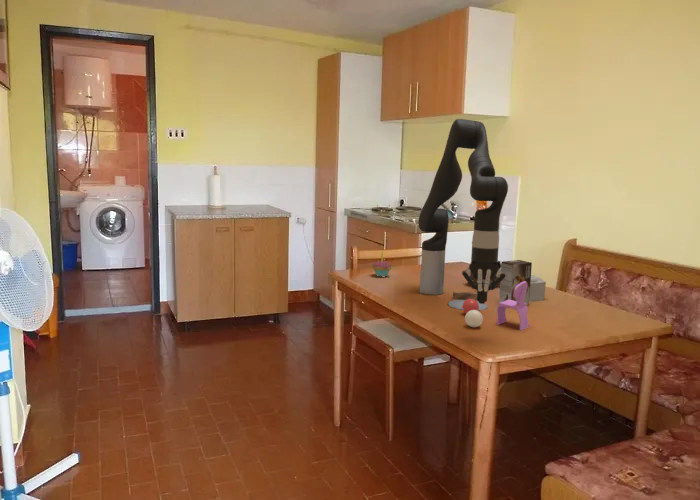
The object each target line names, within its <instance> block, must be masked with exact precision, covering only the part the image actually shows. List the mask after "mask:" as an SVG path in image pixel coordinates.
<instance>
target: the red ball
mask: <svg viewBox="0 0 700 500" xmlns="http://www.w3.org/2000/svg"><path fill="white" fill-rule="evenodd" d="M462 308H463V310H462V311H463V312H464V313H465V315H466V314H467V312H468V311H470V310H477V311H478V309H479V305H478V303H477V300H474V299H467V300H465V301H464V303H463V306H462Z"/></svg>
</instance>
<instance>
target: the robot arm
mask: <svg viewBox="0 0 700 500" xmlns="http://www.w3.org/2000/svg"><path fill="white" fill-rule="evenodd" d="M459 148H461V149H466V150H467V149H468V150H473V151H472V152H471V154H470V155H469V157H468V160H467V168H468V170H469V174H470V176H471V180H470V187H469V195H470V196H471V198H472V199H473V200H475V201H477V202H491V204H490V205H489V206H488V207H486V208H481V209H477V210H476V211H475V213H474V222H473V233H472V240H471V254H470V255H471V257H470V258H471V259H470V264H469V265H468V268H467V269H466V270H462V271H461V274H462V276H463V278H464V279H465V281H467V283H468V285H469V287H471V288H472V290H476V293H477V300H476V301H478V302H479V304H486V303H487V301H488V292H489V291H494V290H495V288H496V287H498V286H499V285H500V282H501V281H502V280H503V279H504V278H505V274H504V273H503V272H501V271H500V270H499V267H498V264H497V262H498V261H499V260H498V259H499V245H500V235H499V231H500V230H499V229H500V217H501V214H502V209H503V206H504V203H505V202H506V201H505V200H506V198H507V194H508V191H509V184H508V182H507V180H506V178H504V177H502V176H496V170H495V167H494V164H493V162H492V159H491V157H490V151H489V142H488V135H487V129H486V126H485V124H484V123H483V122H482V121H479V120H472V119H465V118H458V119H457V118H456V119H455V120H453V122H452V124H451V126H450V130H449V132H448V137H447V141H446V144H445V149H444V151H443V154H442V158H441V161H440V163H439V166H438V168H437V170H436V173H435V176H434V178H433V182H432V185H431V187H430V191H429V193H428V196H427V198H426V200H425V202H424V204H423V207H422V209H421V211H420V213H419V217H418V222H417V223H418V228H419V230H420V231H422V232H424V233H435V234H434V236H432V237H430V238H429V239H426V240H424V241H423V242H422V243H421V258H420V259H421V261H420V280H419V294H425V295H442V294H443V293H444V287H445V286H444V283H445V281H444V280H445V264H446V246H447V242H448V233H449V220H450V219H449V218H450V217H449V213H448V211H447V209H445V208H439V207H441V206H442V205H444V204H445V203H447V202H448V201H449V200H450V199H451V198H452V197H454V196H455V195H456V193H457V192H458V189H459V187H460V185H461V182H462V179H463V171H462V168H461V165H460V164H459V161H458V159H457V158H458V157H457V154H456V152H457V149H459ZM470 271H471V272H472V274H473V275H474V277H475V278H476V279H477V284H476V283H475V282H474V281H473V280H472V279H471V278H470V275H471V274H470ZM496 273H497V274H496ZM495 274H496V277H497V278H496V279H495V280H494V281H493V282H492V283H491V284H490V285H489V281H490V279H492V277H493V276H494V275H495ZM483 279H484V284H483V286H482V280H483Z"/></svg>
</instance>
